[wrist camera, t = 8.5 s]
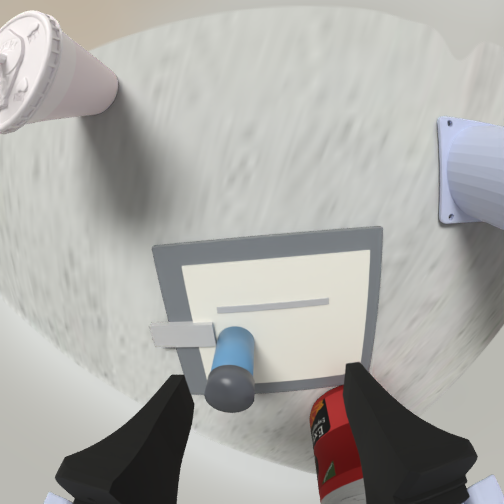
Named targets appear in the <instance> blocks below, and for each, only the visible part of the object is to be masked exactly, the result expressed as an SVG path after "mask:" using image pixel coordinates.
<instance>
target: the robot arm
mask: <svg viewBox="0 0 504 504" xmlns="http://www.w3.org/2000/svg"><path fill="white" fill-rule="evenodd" d="M448 121H449V123H450V126H448V124H447V122H448ZM437 125H438V138H439V159H440V204H439V220H440V221H441V222H442V223H444V224H450V223H465V222H482V221H484V222H486V223H488V224H491V225H493V226H495V227H497V228H499V229H502V230H504V126H498V125H493V124H488V123H483V122H478V121H472V120H466V119H460V118H453V117H446V116H442V117H439V118H438V120H437ZM450 214H451V218H450V219H449V215H450ZM343 400H344V405H345V410H346V415H347V418H348V421H349V424H350V427H351V431H352V434H353V437H354V440H355V443H356V446H357V449H358V453H359V457H360V462H361V468H362V474H363V480H364V487H365V496H366V504H504V496H503V493H502V491H501V489H500V487H499V484H498V482H497V480H496V478H495V476H494V475H490V476H488V477H486V478H485V479H483V480H481V481H479V482H477V483H475V484H473V485H472V486H470V487H469V488H466V486H465V483H467V479H466V476H465V475H466V473H467V472H468V471H469V470H470V469H471V467H472V466H473V465H474V463H475V462H476V460H477V454H476V452H475V450H474V448H473V446H472V444H471V443H470V441H469V440H468V439H465V438H462V437H459V436H456V435H453V434H450V433H448V432H446V431H443V430H441V429H439V428H437V427H435V426H433V425H431V424H430V423H428V422H426V421H424V420H422V419H421V418H419V417H418V416H416V415H415V414H413V413H412V412H410V411H409V410H408V409H406V408H405V407H404V406H403V405H401V404H400V403H399V402H398V401H397V400H396V399H394V398H393V397H392V396H391V395H390V394H389V393H388V392H387V391H386V390H385V389H384V388H383V387H382V386H381V385H380V384H379V383H378V382H377V381H376V380H375V379H374V378H373V377H372V375H371V374H370V373H369V372H368V371H367V370H366V369H365V367H364V366H363V365H362V364H361V363H360V362H354V363H347V364H346V368H345V378H344V387H343ZM193 412H194V402H193V399H192V396H191V393H190V390H189V387H188V384H187V381H186V378H185V375H171V376H170V377H169V378H168V380H167V381H166V382H165V383H164V384H163V385H162V387H161V388H160V389H159V390H158V391H157V392H156V394H155V395H154V396H153V397H152V398H151V399H150V400H149V401H148V402H147V404H146V405H145V406H144V407H143V408H142V409H141V410H140V411H139V412H138V413H137V414H136V415H135V416H134V417H133V418H132V419H130V420H129V421H128V422H127V423H126V424H124V425H123V426H122V427H121V428H119V429H118V430H117V431H115V432H114V433H112V434H111V435H109V436H108V437H106V438H105V439H103V440H101V441H100V442H98V443H96V444H94V445H92V446H90V447H88V448H86V449H84V450H82V451H80V452H77V453H74V454H72V455H69V456H67V457H65V458H64V460H63V462H62V464H61V466H60V468H59V470H58V472H57V474H56V476H55V479H56V481H57V482H58V483H59V485H61V486H62V487H63V488H64V489H65V490H66V491H67V492H68V493H69V494H71V495H72V496H73V497H74V498H75V500H74V502H73V503H72V502H71V501H69V500H67V499H65V498H63V497H60V496H58V495H56V494H53V493H51V492H49V493H48V495H47V498H46V499H45V501H44V504H177V492H178V482H179V474H180V467H181V463H182V458H183V455H184V451H185V447H186V444H187V440H188V436H189V433H190V429H191V425H192V420H193Z"/></svg>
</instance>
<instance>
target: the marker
mask: <svg viewBox="0 0 504 504" xmlns="http://www.w3.org/2000/svg"><path fill="white" fill-rule="evenodd" d="M253 369H254V337H253V335H252V334H251V333H250V332H249V331H248V330H247V329H245V328H242V327H238V326H232V327H228V328H225V329H224V330H222V331H221V332H220V334H219V336H218V340H217V344H216V349H215V353H214V358H213V363H212V368H211V372H210V373H209V375H208V379H207V383H206V388H205V393H204V396H205V399H206V401H207V402H208V404H209V405H211V406H212V407H213V408H215V409H217V410H220V411H223V412H229V413H235V412H241V411H244V410H246V409H248V408H249V407H250V406H251V405H252V404H253V402H254V387H255V381H254V378H253Z"/></svg>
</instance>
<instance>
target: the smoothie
mask: <svg viewBox="0 0 504 504" xmlns="http://www.w3.org/2000/svg"><path fill="white" fill-rule="evenodd" d="M117 91H118V79H117V77H116V75H115V73H114V72H113V71H112V70H111V69H109V68H108V67H107V66H106V65H104V64H103V63H102V62H101V61H99V60H98V59H97V58H96V57H94V56H93V55H92V54H91V53H89V52H88V51H87V50H85V49H84V48H83V47H82V46H80V45H79V44H78V43H76V42H75V41H74V40H73V39H71V38H70V37H69V36H68V35H66V34H65V33H64V32H62V30H61V27H60V24H59V22H58V21H57V20H56V19H55V18H54V17H53V16H51V15H47V14H43V13H42V12H39V11H26V12H23V13H21V14H19V15H17V16H15V17H14V18H12V19H11V20H9V21H8V22H7V23H6V24H5V25H4V26H3V27H2V28H1V29H0V134H8V133H11V132H15V131H16V130H18V129H19V128H21V127H22V126H24V125H25V124H30V123H35V122H41V121H47V120H54V119H61V118H69V117H78V116H88V115H96V114H100V113H102V112H103V111H105V110H106V109H107V108H108V107H109V106H110V105H111V104H112V103H113V101H114V99H115V97H116V95H117Z"/></svg>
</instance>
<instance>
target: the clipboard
mask: <svg viewBox="0 0 504 504" xmlns="http://www.w3.org/2000/svg"><path fill="white" fill-rule="evenodd" d="M382 237H383V228H382V227H381V226H374V227H360V228H347V229H334V230H321V231H309V232H297V233H285V234H273V235H261V236H250V237H239V238H228V239H217V240H206V241H196V242H185V243H175V244H165V245H155V246H153V247H152V252H153V257H154V262H155V266H156V271H157V275H158V280H159V284H160V288H161V293H162V297H163V301H164V305H165V309H166V313H167V317H168V321H169V322H151V324H150V325H149V328H150V332H151V335H152V338H153V341H154V344H155V347H176V350H177V353H178V357H179V360H180V363H181V367H182V370H183V373H184V375H185V378H186V381H187V384H188V387H189V390H190V393H191V395H204V393H205V388H206V383H207V379H208V375H209V373H210V372H211V368H212V363H213V358H214V353H215V349H216V344H217V340H218V336H219V334H220V332H221V331H222V330H224V329H225V328H228V327H232V326H238V327H242V328H245V329H247V330H248V331H249V332H250V333H251V334H252V335H253V337H254V369H253V378H254V381H255V387H254V394H256V393H273V392H285V391H296V390H306V389H315V388H323V387H331V386H338V385H344V378H345V368H346V364H347V363H354V362H360V363H361V364H362V365H363V366H364V367H365V369H366V370H367V371H368V372H369V368H370V362H371V356H372V350H373V343H374V335H375V328H376V319H377V310H378V301H379V289H380V277H381V261H382Z"/></svg>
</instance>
